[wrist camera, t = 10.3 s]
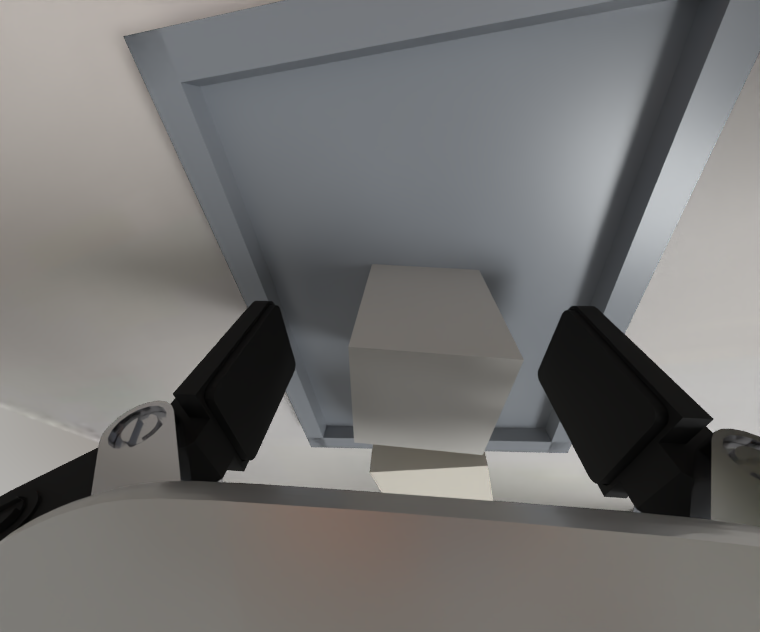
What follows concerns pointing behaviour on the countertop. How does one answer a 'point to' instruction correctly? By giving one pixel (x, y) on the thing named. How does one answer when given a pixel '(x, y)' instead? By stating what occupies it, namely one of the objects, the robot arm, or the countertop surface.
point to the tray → (446, 160)
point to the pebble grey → (429, 360)
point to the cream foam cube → (430, 473)
